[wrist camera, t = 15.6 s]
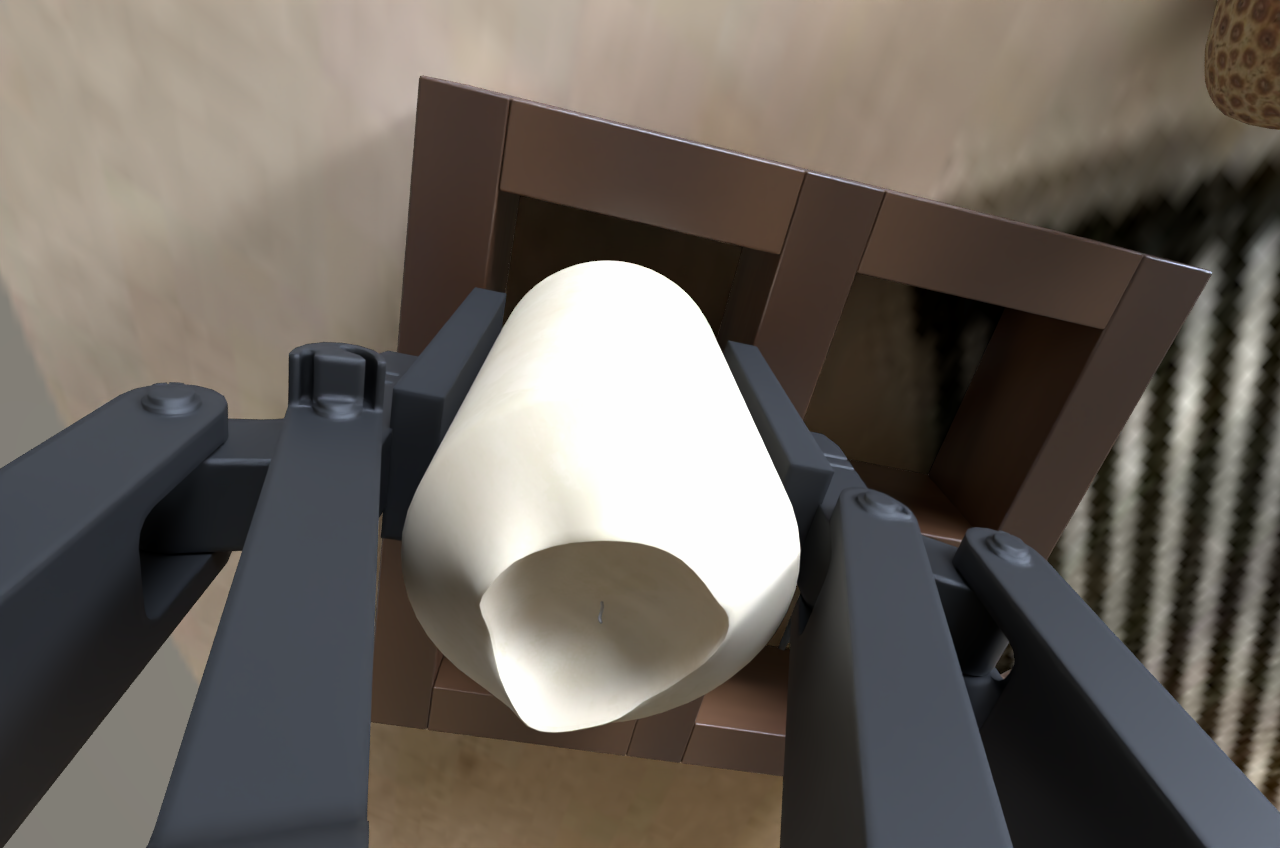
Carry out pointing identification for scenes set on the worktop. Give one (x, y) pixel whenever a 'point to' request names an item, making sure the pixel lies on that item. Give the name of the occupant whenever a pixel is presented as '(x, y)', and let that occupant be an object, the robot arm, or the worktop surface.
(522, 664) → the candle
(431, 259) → the rack
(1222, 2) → the natural sponge
